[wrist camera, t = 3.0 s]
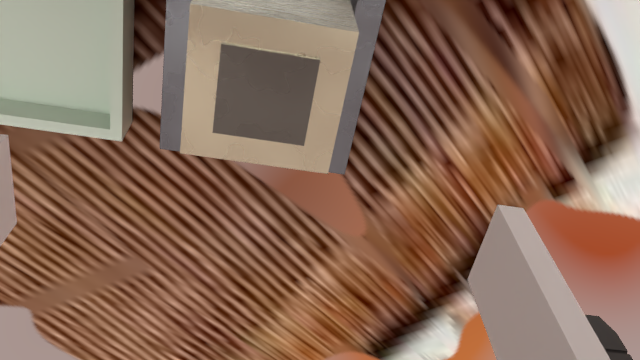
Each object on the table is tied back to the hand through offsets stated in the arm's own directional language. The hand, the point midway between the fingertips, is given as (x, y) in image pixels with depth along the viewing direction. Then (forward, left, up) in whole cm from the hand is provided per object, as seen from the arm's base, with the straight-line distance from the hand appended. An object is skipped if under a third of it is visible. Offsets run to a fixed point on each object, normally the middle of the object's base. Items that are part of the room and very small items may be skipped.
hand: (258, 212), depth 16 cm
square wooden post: (0, 0, -16) cm, 16 cm away
